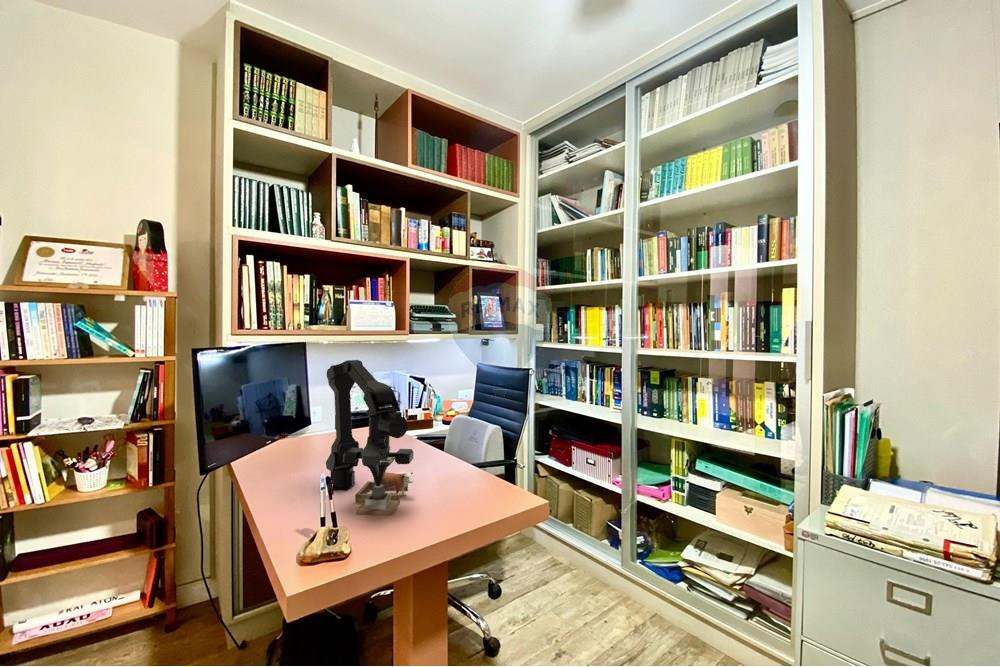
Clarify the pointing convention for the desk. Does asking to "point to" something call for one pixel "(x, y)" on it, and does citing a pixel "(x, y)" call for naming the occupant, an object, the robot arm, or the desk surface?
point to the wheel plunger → (378, 491)
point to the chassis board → (377, 501)
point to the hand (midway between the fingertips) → (378, 485)
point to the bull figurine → (397, 480)
